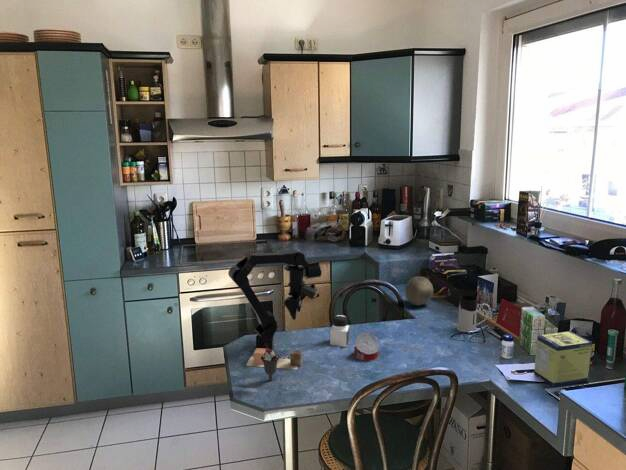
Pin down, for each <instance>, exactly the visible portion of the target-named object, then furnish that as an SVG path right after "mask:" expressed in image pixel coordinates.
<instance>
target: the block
mask: <svg viewBox="0 0 626 470" xmlns="http://www.w3.org/2000/svg"><path fill="white" fill-rule="evenodd" d="M265 350H266V349H263V348H255V350H254V352H253V356H254V364H263V365H264V363H263V361H262V360H261V356H263V355H264V353H265V352H266V351H265Z"/></svg>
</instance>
